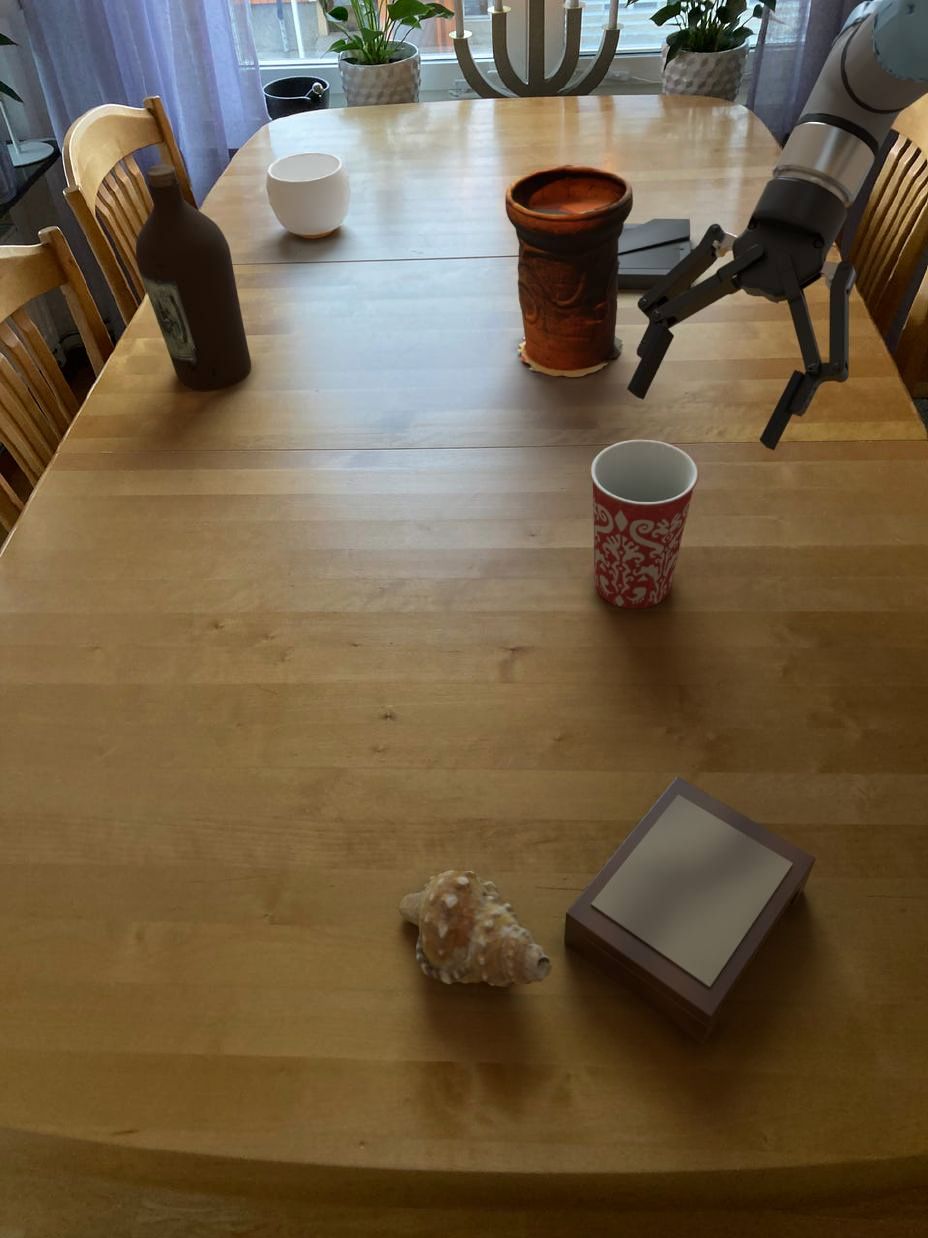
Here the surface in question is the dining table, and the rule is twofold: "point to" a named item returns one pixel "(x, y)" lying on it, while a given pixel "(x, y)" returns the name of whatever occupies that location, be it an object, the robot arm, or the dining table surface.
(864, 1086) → the dining table surface
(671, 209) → the dining table surface
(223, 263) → the olive oil
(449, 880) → the seashell
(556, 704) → the dining table surface
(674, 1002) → the brown rectangular block
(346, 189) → the cup
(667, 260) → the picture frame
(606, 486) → the mug
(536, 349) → the vessel
